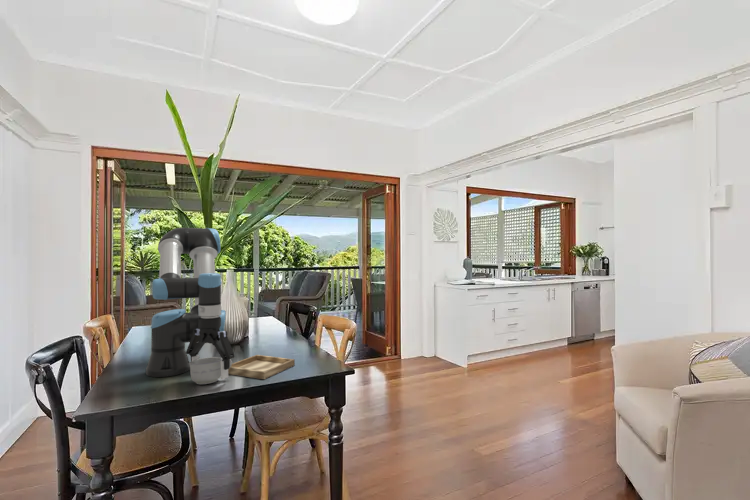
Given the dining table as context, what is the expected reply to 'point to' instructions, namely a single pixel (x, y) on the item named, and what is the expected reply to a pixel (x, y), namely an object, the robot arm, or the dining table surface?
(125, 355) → the dining table surface
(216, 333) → the robot arm
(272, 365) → the serving tray
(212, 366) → the teacup
